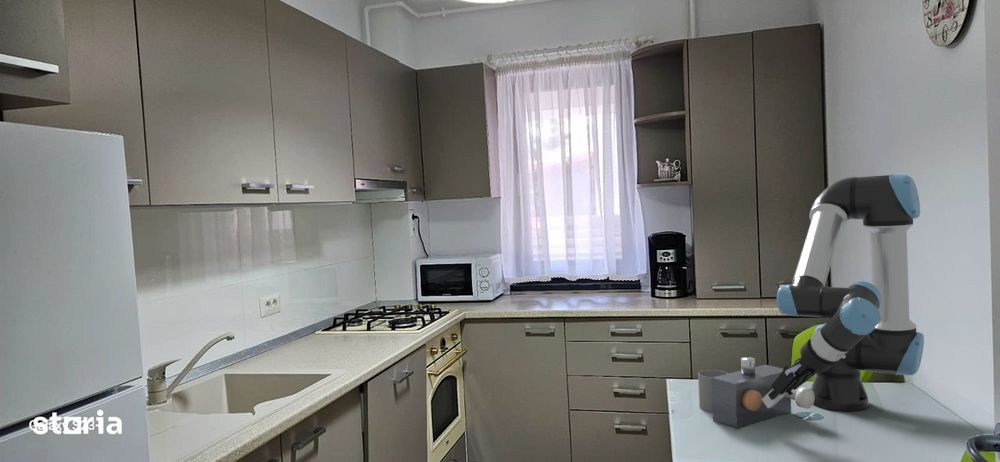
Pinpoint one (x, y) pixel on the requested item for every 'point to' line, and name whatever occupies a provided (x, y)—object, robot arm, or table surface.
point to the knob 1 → (752, 400)
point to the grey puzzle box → (731, 393)
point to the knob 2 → (802, 397)
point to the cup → (707, 388)
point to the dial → (748, 365)
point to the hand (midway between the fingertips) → (766, 403)
